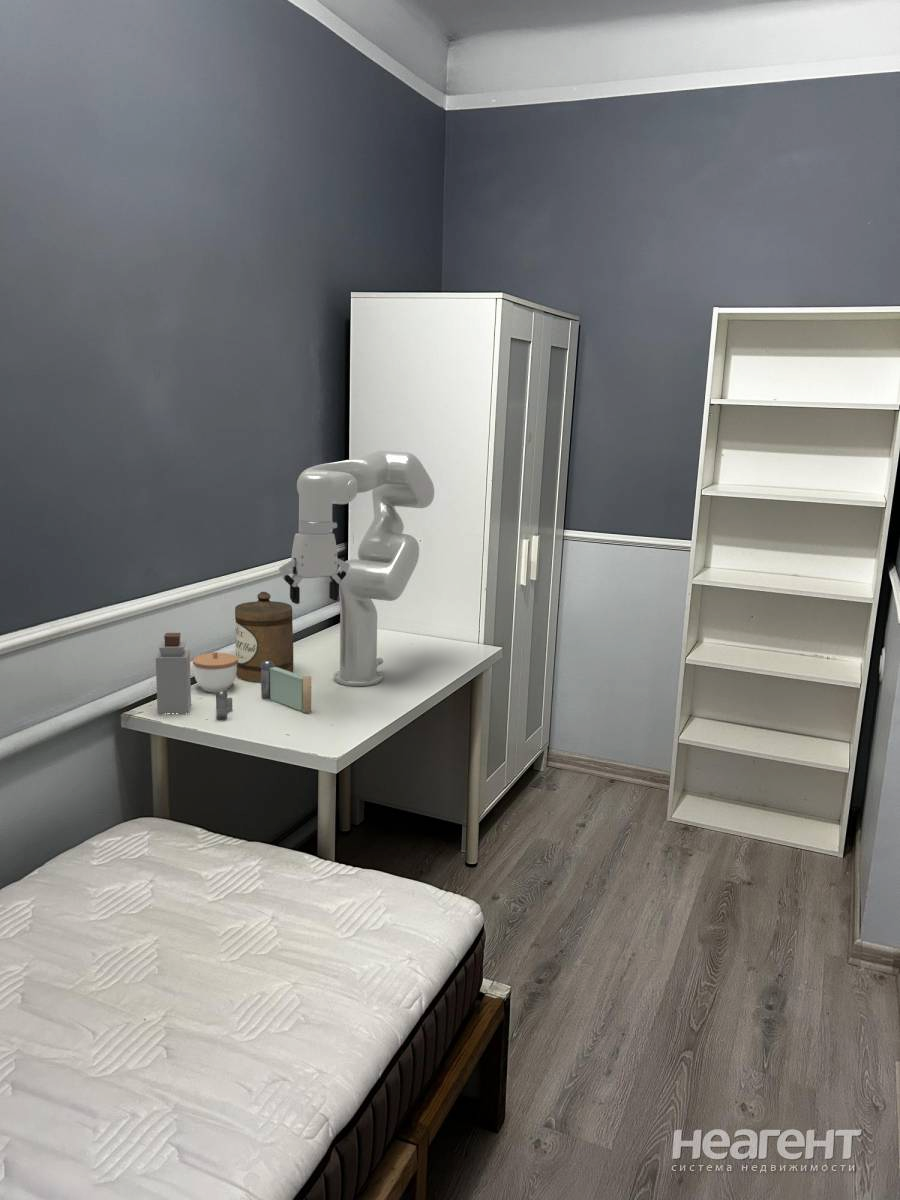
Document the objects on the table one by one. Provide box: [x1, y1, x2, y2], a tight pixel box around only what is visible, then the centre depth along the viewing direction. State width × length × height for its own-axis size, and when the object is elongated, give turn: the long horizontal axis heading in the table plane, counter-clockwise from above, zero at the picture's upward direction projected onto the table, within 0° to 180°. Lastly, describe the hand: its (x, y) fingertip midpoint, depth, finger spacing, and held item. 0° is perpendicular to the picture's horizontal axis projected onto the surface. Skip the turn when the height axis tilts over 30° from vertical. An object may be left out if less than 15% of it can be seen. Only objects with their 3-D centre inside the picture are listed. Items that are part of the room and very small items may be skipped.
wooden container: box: [234, 591, 294, 683], centre depth 243 cm, size 15×15×22 cm
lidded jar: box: [192, 651, 238, 693], centre depth 232 cm, size 11×11×9 cm
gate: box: [270, 667, 312, 714], centre depth 221 cm, size 14×2×8 cm, turn 49°
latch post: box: [215, 691, 233, 721], centre depth 213 cm, size 7×4×7 cm, turn 154°
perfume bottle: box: [155, 632, 192, 715], centre depth 215 cm, size 7×7×18 cm
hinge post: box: [260, 660, 274, 701], centre depth 226 cm, size 3×3×10 cm
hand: (314, 601), depth 218 cm, fingers open, 9 cm apart
